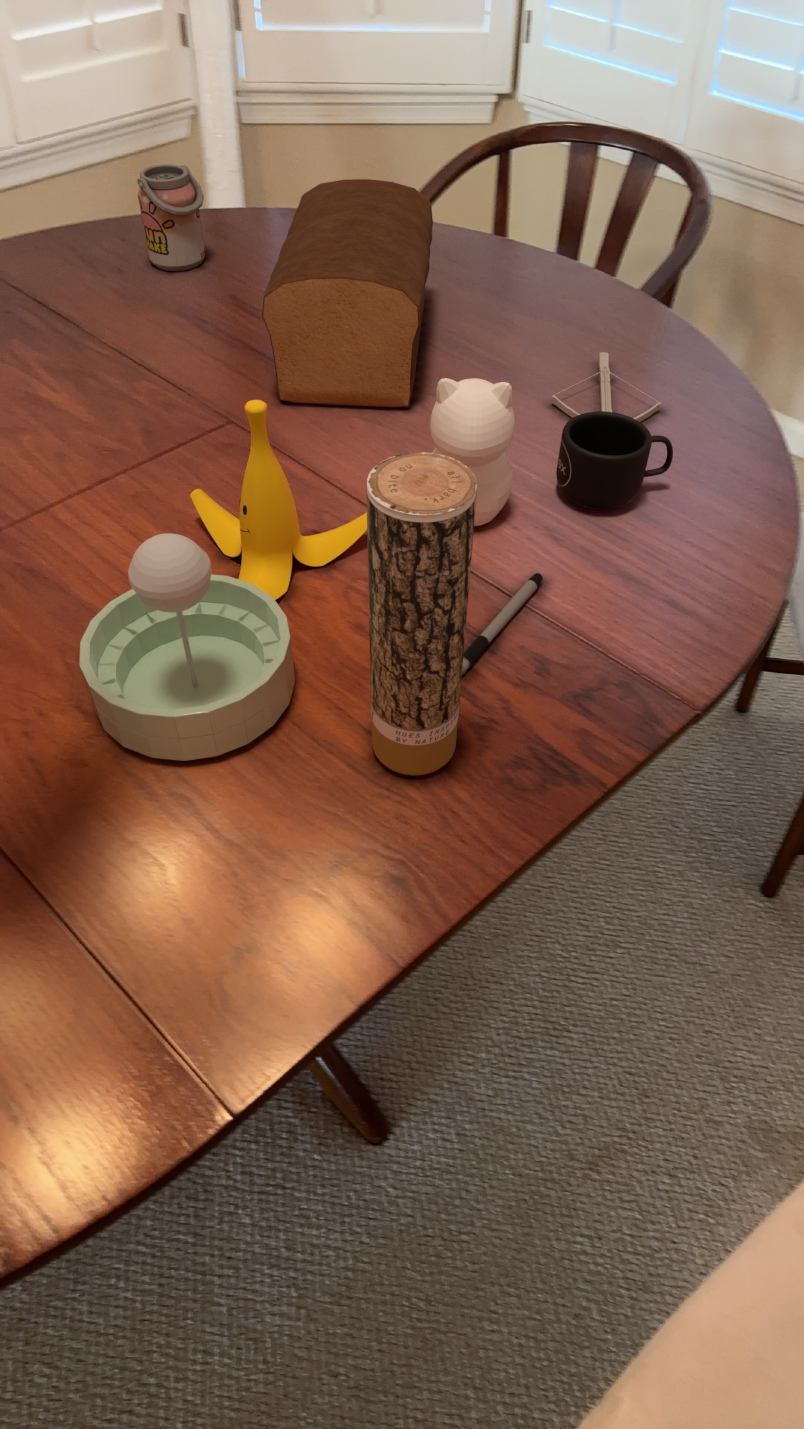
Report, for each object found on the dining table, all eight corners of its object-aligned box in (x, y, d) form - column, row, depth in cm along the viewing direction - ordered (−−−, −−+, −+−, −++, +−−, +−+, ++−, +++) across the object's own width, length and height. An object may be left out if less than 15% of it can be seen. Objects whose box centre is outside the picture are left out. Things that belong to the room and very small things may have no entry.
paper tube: (471, 737, 77) (497, 473, 58) (427, 793, 73) (441, 529, 55) (400, 704, 79) (404, 440, 61) (355, 756, 75) (344, 491, 57)
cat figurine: (418, 536, 95) (422, 399, 84) (429, 467, 103) (434, 334, 92) (507, 543, 94) (523, 406, 83) (511, 473, 103) (526, 340, 92)
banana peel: (237, 636, 84) (210, 475, 72) (193, 517, 96) (164, 362, 84) (409, 596, 88) (413, 437, 76) (347, 486, 100) (341, 333, 88)
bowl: (68, 756, 75) (47, 705, 71) (131, 618, 86) (117, 566, 82) (272, 776, 74) (265, 725, 70) (310, 633, 85) (306, 581, 81)
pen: (543, 584, 90) (545, 573, 89) (455, 688, 81) (456, 677, 80) (531, 579, 91) (533, 568, 90) (442, 681, 81) (443, 671, 80)
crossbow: (660, 441, 109) (664, 426, 107) (550, 434, 109) (552, 418, 108) (652, 366, 119) (656, 350, 117) (551, 359, 119) (554, 344, 118)
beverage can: (222, 263, 139) (211, 173, 130) (176, 280, 135) (161, 189, 126) (183, 245, 143) (170, 157, 134) (138, 261, 139) (121, 172, 130)
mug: (564, 520, 97) (574, 460, 92) (545, 471, 103) (553, 412, 98) (677, 514, 98) (693, 453, 93) (652, 465, 104) (666, 406, 99)
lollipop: (174, 721, 77) (138, 577, 66) (147, 677, 80) (108, 533, 69) (243, 692, 79) (219, 549, 68) (214, 651, 82) (187, 507, 71)
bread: (432, 300, 131) (436, 173, 119) (420, 412, 111) (424, 273, 99) (303, 295, 132) (294, 168, 120) (268, 405, 112) (253, 266, 100)
